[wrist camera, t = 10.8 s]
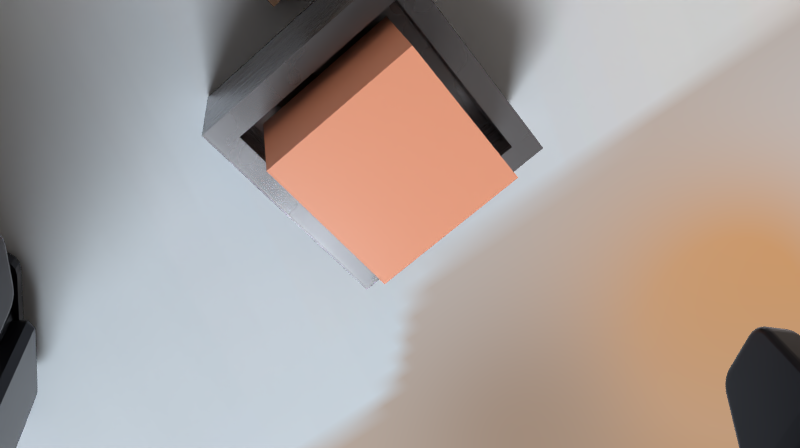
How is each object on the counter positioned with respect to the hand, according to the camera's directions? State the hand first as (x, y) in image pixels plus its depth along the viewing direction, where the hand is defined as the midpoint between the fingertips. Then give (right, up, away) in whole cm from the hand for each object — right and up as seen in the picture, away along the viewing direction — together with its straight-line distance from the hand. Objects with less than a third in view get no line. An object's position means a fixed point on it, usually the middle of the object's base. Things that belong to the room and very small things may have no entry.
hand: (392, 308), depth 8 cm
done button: (-1, +3, +10) cm, 10 cm away
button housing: (-1, +4, +11) cm, 12 cm away
